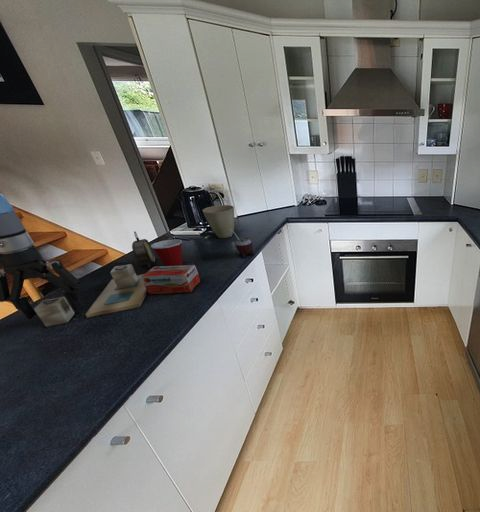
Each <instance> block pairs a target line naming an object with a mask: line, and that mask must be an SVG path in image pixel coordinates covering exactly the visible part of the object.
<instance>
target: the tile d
mask: <svg viewBox="0 0 480 512" xmlns="http://www.w3.org/2000/svg"><path fill="white" fill-rule="evenodd" d="M33 309H34V311H35V312H36V315H37V316H38V318H39V319H40V320H41V322H42V323H43V325H44V326H45V327H46V328H48V327H52V326H57V325H61V324H67V323H69V322H70V320H71V319H72V318H73V316H74V315H75V310H74V309H73V307H72V306H71V304H70V302H69V301H68V299H67V297H66V296H59V297H53V298H47V299H43V300H41V302H39V303H38V304H37V305H36V306H35V307H34V308H33Z"/></svg>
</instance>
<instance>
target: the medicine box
mask: <svg viewBox="0 0 480 512" xmlns="http://www.w3.org/2000/svg"><path fill="white" fill-rule="evenodd" d="M143 274H144V275H143ZM143 274H142V275H143V276H141V277H142V280H143V282H144V285H145V287H146V289H147V291H148V292H147V294H149V295H160V294H161V295H163V294H164V295H165V294H184V293H192V292H193V290H194V289H195V287H196V286H198V285H199V283H200V282H201V277H200V274H199V272H198V269H197V266H196V265H195V264H187V265H185V264H183V266H165V265H162V266H161V265H160V266H153V267H151V269H149V270H148V271H146V272H145V273H143Z"/></svg>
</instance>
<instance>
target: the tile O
mask: <svg viewBox="0 0 480 512" xmlns="http://www.w3.org/2000/svg"><path fill="white" fill-rule="evenodd" d="M136 273H137V272H136V271H135V269H134V266H133V265H132V263H129V264H122V265H115V266H114V267H113V268H112V269H111V271H110V275H111V277H112V280H113V279H114V281H115V283H116V285H117V287H118V288H123V287H129V286H134V285H135V284H136V282H137V281H138V278H137V274H136Z"/></svg>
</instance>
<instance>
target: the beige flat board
mask: <svg viewBox="0 0 480 512" xmlns="http://www.w3.org/2000/svg"><path fill="white" fill-rule="evenodd" d="M144 274H145V273H143V274H138V275H137V274H136V275H137V278H138V281H137V282H136V284H135V285H134V286H129V287H123V288H118V287H117V285H116V283H115V281H114V279H113V278H112V279H111V280H110V281H109V282H108V283H107V285H106V286H105V287H104V289H103V290H102V291H101V293H100V294H99V296H98V297H97V298H96V300H95V301H93V303H92V305H91V306H90V307H89V309H88V310H87V311H86V312H85V316H86V318H88V319H89V318H93V317H97V316H101V315H106V314H107V315H108V314H112V313H117V312H121V311H126V310H131V309H135V308H136V309H137V308H140V307H141V306H142V304H143V302H144V300H145V298H146V296H147V294H148V291H147V289H146V287H145V285H144V282H143V280H142V277H141V276H143V275H144Z"/></svg>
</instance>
